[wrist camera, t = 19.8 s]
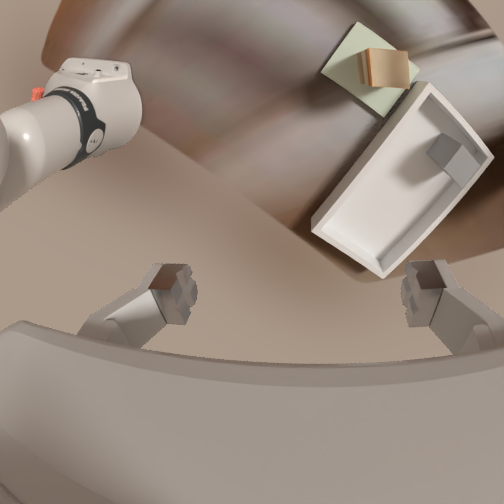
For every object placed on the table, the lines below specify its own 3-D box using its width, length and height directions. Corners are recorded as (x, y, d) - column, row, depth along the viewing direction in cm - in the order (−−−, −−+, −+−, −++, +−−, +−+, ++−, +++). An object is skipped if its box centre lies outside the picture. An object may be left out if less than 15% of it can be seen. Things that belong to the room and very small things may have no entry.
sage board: (320, 72, 34) (320, 72, 33) (356, 22, 28) (357, 21, 27) (382, 116, 36) (383, 117, 35) (417, 69, 30) (419, 69, 29)
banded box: (358, 83, 33) (372, 86, 26) (355, 53, 30) (368, 47, 23) (389, 85, 32) (410, 89, 25) (386, 55, 29) (407, 51, 22)
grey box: (425, 153, 36) (443, 168, 31) (442, 132, 34) (462, 144, 28) (443, 171, 37) (462, 188, 31) (459, 151, 34) (480, 166, 29)
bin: (311, 217, 48) (311, 231, 44) (417, 80, 31) (428, 82, 27) (378, 263, 50) (383, 279, 47) (480, 148, 34) (494, 157, 30)
